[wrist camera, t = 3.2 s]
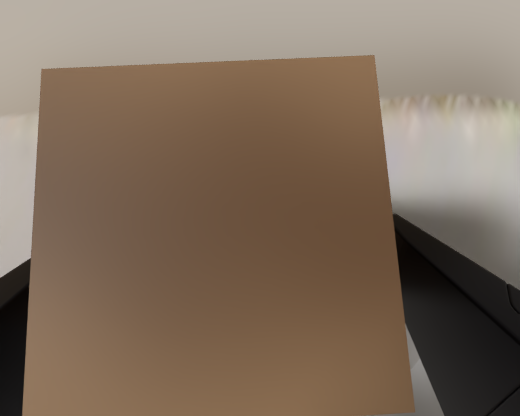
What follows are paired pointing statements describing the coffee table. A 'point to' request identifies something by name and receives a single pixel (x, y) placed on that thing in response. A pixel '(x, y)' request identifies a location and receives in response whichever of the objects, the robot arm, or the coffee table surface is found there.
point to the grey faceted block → (419, 387)
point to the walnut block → (214, 243)
